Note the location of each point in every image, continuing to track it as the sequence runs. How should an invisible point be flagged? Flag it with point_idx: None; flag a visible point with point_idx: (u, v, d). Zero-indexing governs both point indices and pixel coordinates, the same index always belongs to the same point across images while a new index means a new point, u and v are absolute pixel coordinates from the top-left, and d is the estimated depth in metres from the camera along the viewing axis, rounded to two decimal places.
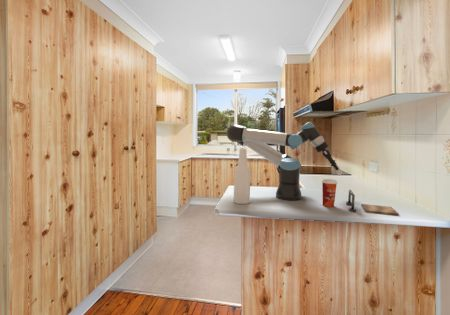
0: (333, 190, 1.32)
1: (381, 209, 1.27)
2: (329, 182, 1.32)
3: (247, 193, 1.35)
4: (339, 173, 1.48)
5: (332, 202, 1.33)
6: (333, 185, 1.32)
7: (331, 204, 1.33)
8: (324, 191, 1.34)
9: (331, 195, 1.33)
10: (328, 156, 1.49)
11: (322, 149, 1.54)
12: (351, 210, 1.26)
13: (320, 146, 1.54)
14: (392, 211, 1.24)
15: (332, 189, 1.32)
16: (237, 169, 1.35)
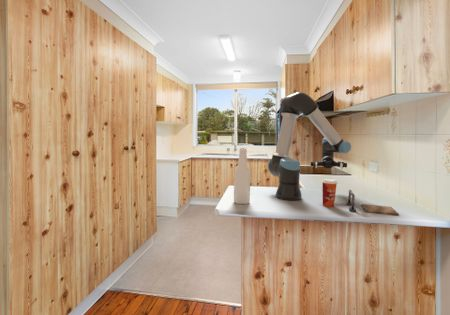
0: (333, 190, 1.32)
1: (381, 209, 1.27)
2: (329, 182, 1.32)
3: (247, 193, 1.35)
4: (342, 165, 1.43)
5: (332, 202, 1.33)
6: (333, 185, 1.32)
7: (331, 204, 1.33)
8: (324, 191, 1.34)
9: (331, 195, 1.33)
10: None
11: None
12: (351, 210, 1.26)
13: None
14: (392, 211, 1.24)
15: (332, 189, 1.32)
16: (237, 169, 1.35)
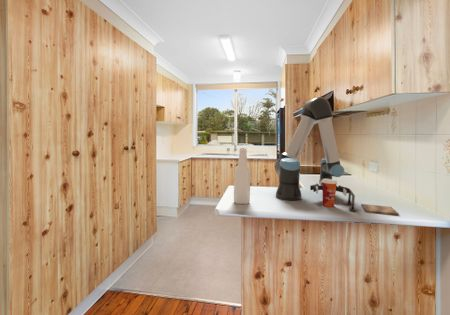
0: (333, 190, 1.32)
1: (381, 209, 1.27)
2: (329, 182, 1.32)
3: (247, 193, 1.35)
4: None
5: (332, 202, 1.33)
6: (333, 185, 1.32)
7: (331, 204, 1.33)
8: (324, 191, 1.34)
9: (331, 195, 1.33)
10: None
11: None
12: (351, 210, 1.26)
13: None
14: (392, 211, 1.24)
15: (332, 189, 1.32)
16: (237, 169, 1.35)
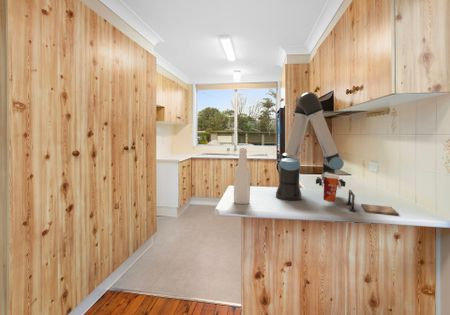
0: (335, 185, 1.31)
1: (381, 209, 1.27)
2: (331, 177, 1.31)
3: (247, 193, 1.35)
4: (340, 185, 1.30)
5: (333, 197, 1.33)
6: (335, 180, 1.31)
7: (332, 199, 1.33)
8: (325, 185, 1.33)
9: (332, 189, 1.32)
10: None
11: None
12: (351, 210, 1.26)
13: None
14: (392, 211, 1.24)
15: (333, 183, 1.31)
16: (237, 169, 1.35)
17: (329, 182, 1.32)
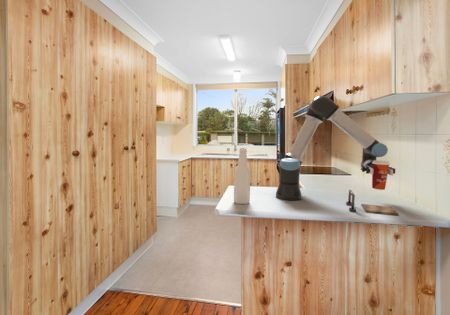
0: (385, 172, 1.24)
1: (381, 209, 1.27)
2: (381, 163, 1.24)
3: (247, 193, 1.35)
4: None
5: (384, 184, 1.25)
6: (386, 166, 1.24)
7: (383, 187, 1.25)
8: (375, 173, 1.26)
9: (383, 177, 1.24)
10: None
11: None
12: (351, 210, 1.26)
13: None
14: (392, 211, 1.24)
15: (384, 170, 1.24)
16: (237, 169, 1.35)
17: (379, 169, 1.24)
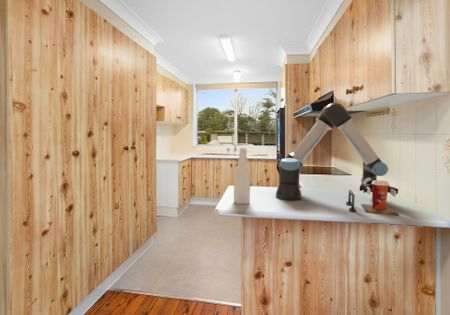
0: (385, 192, 1.25)
1: None
2: (381, 184, 1.24)
3: (247, 193, 1.35)
4: None
5: (384, 205, 1.26)
6: (385, 187, 1.24)
7: (383, 207, 1.26)
8: (375, 193, 1.27)
9: (383, 197, 1.25)
10: None
11: None
12: (351, 210, 1.26)
13: None
14: (392, 211, 1.24)
15: (384, 191, 1.25)
16: (237, 169, 1.35)
17: (379, 189, 1.25)
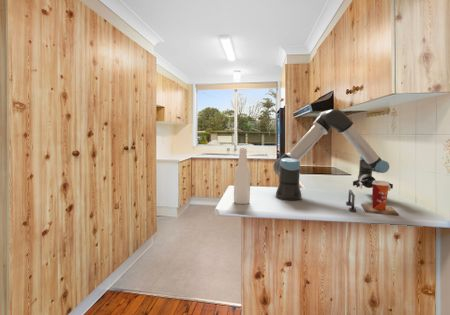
0: (385, 192, 1.25)
1: None
2: (381, 184, 1.24)
3: (247, 193, 1.35)
4: None
5: (384, 205, 1.26)
6: (386, 187, 1.24)
7: (383, 207, 1.26)
8: (375, 193, 1.27)
9: (383, 197, 1.25)
10: None
11: None
12: (351, 210, 1.26)
13: None
14: (392, 211, 1.24)
15: (384, 191, 1.25)
16: (237, 169, 1.35)
17: (379, 189, 1.25)
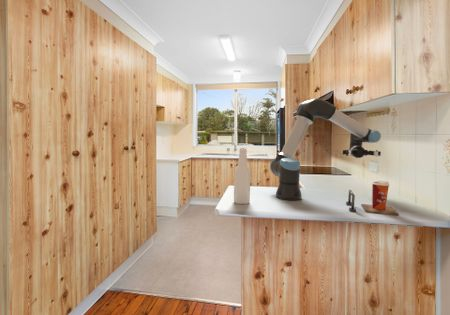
0: (385, 192, 1.25)
1: None
2: (381, 184, 1.24)
3: (247, 193, 1.35)
4: None
5: (384, 205, 1.26)
6: (386, 187, 1.24)
7: (383, 207, 1.26)
8: (375, 193, 1.27)
9: (383, 197, 1.25)
10: None
11: None
12: (351, 210, 1.26)
13: None
14: (392, 211, 1.24)
15: (384, 191, 1.25)
16: (237, 169, 1.35)
17: (379, 189, 1.25)
